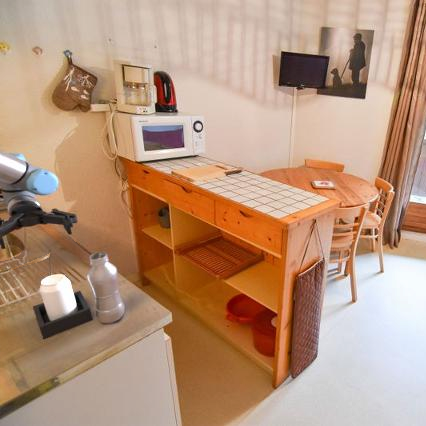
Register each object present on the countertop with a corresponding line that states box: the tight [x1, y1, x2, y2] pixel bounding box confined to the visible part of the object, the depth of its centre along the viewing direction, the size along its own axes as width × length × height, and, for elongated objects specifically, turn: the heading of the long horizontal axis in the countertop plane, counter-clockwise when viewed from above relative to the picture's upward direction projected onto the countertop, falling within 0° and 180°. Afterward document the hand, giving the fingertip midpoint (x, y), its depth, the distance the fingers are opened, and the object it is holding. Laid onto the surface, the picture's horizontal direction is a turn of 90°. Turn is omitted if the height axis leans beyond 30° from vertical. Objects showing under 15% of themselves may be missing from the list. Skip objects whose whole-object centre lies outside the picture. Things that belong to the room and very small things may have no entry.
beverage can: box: [39, 273, 78, 321], centre depth 83 cm, size 6×6×12 cm
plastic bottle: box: [86, 251, 126, 324], centre depth 84 cm, size 6×7×20 cm
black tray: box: [32, 290, 94, 340], centre depth 85 cm, size 10×10×4 cm
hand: (37, 236), depth 84 cm, fingers open, 13 cm apart
